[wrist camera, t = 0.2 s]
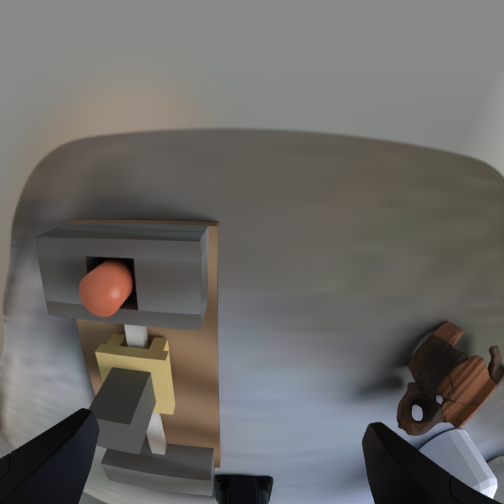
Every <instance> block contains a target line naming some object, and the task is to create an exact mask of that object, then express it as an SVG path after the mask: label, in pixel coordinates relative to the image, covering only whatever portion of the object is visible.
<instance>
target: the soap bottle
mask: <svg viewBox="0 0 504 504" xmlns="http://www.w3.org/2000/svg"><path fill="white" fill-rule="evenodd" d="M419 451H420V452H421V453H423V454H424V455H425V456H427V457H428V458H429V459H431V460H432V461H434V462H435V463H436V464H438V465H439V466H440V467H442V468H443V469H445V470H446V471H447V472H449V473H450V475H453V476H455V477H456V478H457V479H459V480H460V481H462V482H463V483H465V484H466V485H468V486H470V487H471V488H473V489H475V490H477V491H479V492H480V493H482V494H484V495H486V496H488V497H490V498H492V499H493V497H494V494H495V492H496V489H497V487H498V486H497V479H496V477H495V475H494V474H493V472H492V471H491V469H490V468H489V466H488V464H487V463H486V461H485V460H484V458H483V457H482V455H481V454H480V452H479V451H478V449H477V448H476V446H475V445H474V443H473V442H472V440H471V439H470V437H469V436H468V434H467V433H466V432H465V431H464V430H463V429H453V430H450V431H446V432H444V433H442V434H440V435H438V436H436V437H435V438H433V439H432V440H430V441H429V442H427V443H426V444H425V445H424V446H422V447H421V448H420V449H419Z"/></svg>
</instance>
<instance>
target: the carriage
mask: <svg viewBox="0 0 504 504" xmlns="http://www.w3.org/2000/svg"><path fill="white" fill-rule="evenodd" d="M95 353H96V358H97V362H98V366H99V370H100V374H101V378H102V381H103V384H102V386H101V388H100V389H99V391H98V393H97V395H96V397H95V398H94V400H93V402H92V404H91V406H90V407H89V410H93V411H94V413H95V416H96V419H97V421H98V424H99V428H100V431H99V436H98V440H97V446H101V447H105V448H109V449H114V450H118V451H123V452H128V453H133V454H140V451H141V448H142V444H143V441H144V438H145V435H146V432H147V429H148V426H149V423H150V419H151V416H152V413H153V412H155V413H162V414H171V415H173V412H174V408H175V399H174V390H173V382H172V374H171V365H170V356H169V346H168V339H164V338H154V339H153V341H152V343H151V346H150V348H149V349H141V348H132V347H128V345H127V339H126V335H124V334H115V333H113V335H112V336H111V338H110V339H109V341H108V342H107V343H106V344H102V343H101V344H100V346H99V347H98V348H97V350H96V351H95Z"/></svg>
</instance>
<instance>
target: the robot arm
mask: <svg viewBox="0 0 504 504" xmlns="http://www.w3.org/2000/svg"><path fill="white" fill-rule="evenodd" d="M99 431H100V428H99V424H98V421H97V419H96V416H95V413H94V411H93V410H89V409H85V408H81V409H79V410H78V411H76V412H75V413H73V414H72V415H70V416H69V417H67V418H65V419H64V420H62V421H61V422H59V423H58V424H56V425H54V426H53V427H51V428H50V429H48V430H46V431H45V432H43V433H42V434H40V435H38V436H37V437H35V438H34V439H32V440H30V441H29V442H27V443H26V444H24V445H22V446H21V447H19V448H17V449H16V450H14V451H12V452H11V454H7V455H6V456H4V457H2V458H0V504H78V503H79V500H80V497H81V495H82V492H83V489H84V486H85V483H86V480H87V478H88V475H89V472H90V469H91V465H92V461H93V457H94V453H95V448H96V444H97V440H98V436H99ZM362 447H363V453H364V458H365V464H366V471H367V477H368V481H369V485H370V489H371V492H372V496H373V499H374V502H375V504H503V503H500V502H498V501H496V500H494V499H492V498H490V497H488V496H486V495H484V494H482V493H480V492H479V491H477V490H475V489H473V488H471V487H470V486H468V485H466V484H465V483H463V482H462V481H460V480H459V479H457V478H456V477H455V476H453V475H450V473H449V472H447V471H446V470H445V469H443V468H442V467H440V466H439V465H438V464H436V463H435V462H434V461H432V460H431V459H429V458H428V457H427V456H425V455H424V454H423V453H421V452H420V451H419V450H417V449H416V448H415V447H413V446H412V445H411V444H409V443H408V442H407V441H405V440H404V439H403V438H401V437H400V436H399V435H397V434H396V433H395V432H394V431H392V430H391V429H390V428H388V427H387V426H386V425H385V424H383V423H382V422H375V423H370V424H369V425H368V427H367V429H366V432H365V434H364V437H363V439H362ZM272 485H273V478H272V477H231V476H216V477H215V490H216V501H217V502H218V504H269V500H270V496H271V490H272Z"/></svg>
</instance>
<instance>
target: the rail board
mask: <svg viewBox="0 0 504 504" xmlns="http://www.w3.org/2000/svg"><path fill="white" fill-rule="evenodd" d="M218 229H219V222H216V221H178V220H108V219H73V220H70V221H67V222H65V223H63V226H61V227H58V228H56V229H54V230H51V231H49V232H47V233H44V234H42V235H40V236H38V237H36V241H37V250H38V257H39V264H40V271H41V277H42V283H43V289H44V294H45V299H46V304H47V309H48V313H49V315H55V316H61V317H68V318H75V319H76V323H77V328H78V332H79V337H80V341H81V345H82V349H83V353H84V357H85V361H86V365H87V369H88V372H89V376H90V379H91V383H92V386H93V390H94V393H95V396H96V395H97V393H98V391H99V389H100V388H101V386H102V384H103V381H102V378H101V374H100V370H99V366H98V362H97V358H96V353H95V351H96V350H97V348H98V347H99V346H100V344H101V343H102V344H106V343H107V342H108V341H109V339H110V338H111V336H112V335H113V333H115V334H124V335H126V339H127V345H128V347H132V348H141V349H149V348H150V346H151V343H152V341H153V339H154V338H164V339H168V346H169V356H170V365H171V374H172V382H173V390H174V399H175V408H174V412H173V415H171V414H162V413H155V412H153V413H152V416H151V419H150V423H149V426H148V429H147V432H146V435H145V438H144V441H143V444H142V448H141V451H140V454H133V453H128V452H123V451H118V450H114V449H109V448H107V450H106V452H105V455H104V457H103V460H102V462H101V464H102V466H103V468H104V470H105V472H106V474H107V476H108V478H109V480H112V481H116V482H120V483H125V484H130V485H134V486H140V487H145V488H150V489H156V490H163V491H170V492H177V493H186V494H195V495H206V496H212V494H213V481H214V469H215V467H218V468H220V460H221V451H220V423H219V384H218ZM111 258H117V259H120V260H123V261H124V262H126V263H127V264H128V265H129V266H130V267H131V269H132V270H133V272H134V275H135V287H134V290H133V291H132V293H131V294H130V295H129V296H128V297H127V299H126V300H125V301H124V302H123V304H122V305H121V306H120V307H119V309H118V310H117V311H116V312H115V313H114V314H113V315H111V316H108V317H100V316H96V315H94V314H92V313H91V312H90V311H88V310H87V309H86V307H85V306H84V305H83V303H82V301H81V299H80V296H79V285H80V282H81V280H82V279H83V278H84V277H85V276H86V275H87V274H89V273H90V272H91V271H92V270H94V269H95V268H96V267H97V266H99V265H100V264H101V263H103V262H104V261H105V260H107V259H111Z"/></svg>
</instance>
